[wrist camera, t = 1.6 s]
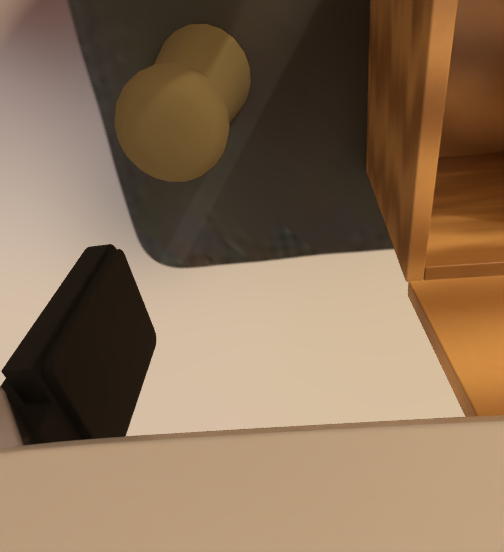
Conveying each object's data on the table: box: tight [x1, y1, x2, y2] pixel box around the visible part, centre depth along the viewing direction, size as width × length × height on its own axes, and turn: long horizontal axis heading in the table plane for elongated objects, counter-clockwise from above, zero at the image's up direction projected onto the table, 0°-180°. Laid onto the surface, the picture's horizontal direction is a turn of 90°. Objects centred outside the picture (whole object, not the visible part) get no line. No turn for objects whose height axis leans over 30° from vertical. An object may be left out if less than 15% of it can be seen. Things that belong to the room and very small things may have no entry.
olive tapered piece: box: [114, 24, 251, 182], centre depth 23 cm, size 6×6×11 cm
